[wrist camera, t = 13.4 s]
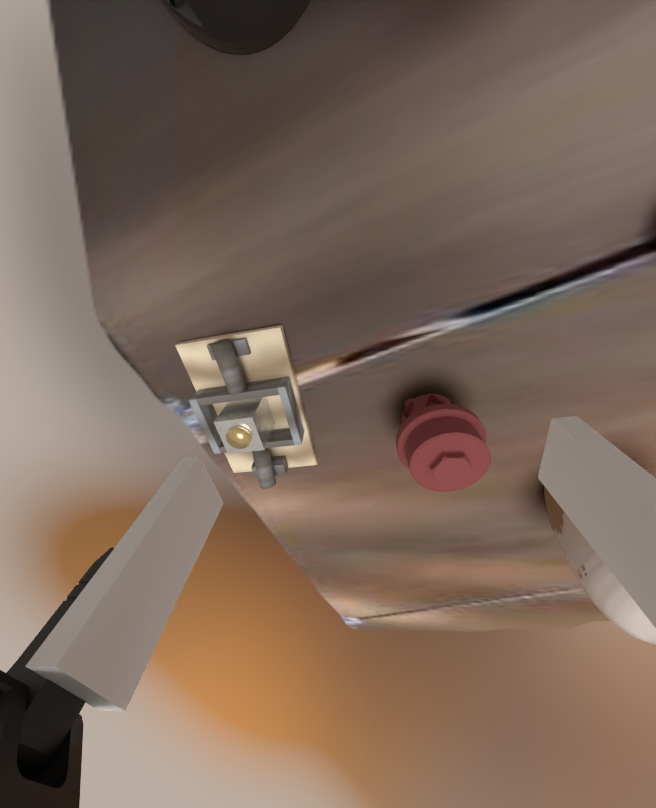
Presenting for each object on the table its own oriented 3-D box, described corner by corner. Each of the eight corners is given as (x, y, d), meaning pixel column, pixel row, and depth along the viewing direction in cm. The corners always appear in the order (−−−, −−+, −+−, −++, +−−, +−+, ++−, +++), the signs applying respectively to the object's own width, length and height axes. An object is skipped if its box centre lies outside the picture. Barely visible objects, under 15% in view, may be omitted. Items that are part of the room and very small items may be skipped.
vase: (648, 491, 45) (879, 688, 25) (543, 528, 51) (665, 712, 31) (620, 425, 40) (889, 611, 20) (506, 474, 45) (627, 657, 26)
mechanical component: (432, 448, 44) (376, 421, 42) (478, 397, 39) (416, 365, 37) (459, 516, 33) (385, 484, 31) (527, 457, 28) (443, 416, 26)
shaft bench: (179, 342, 38) (152, 359, 32) (282, 324, 36) (270, 339, 30) (236, 467, 48) (222, 495, 43) (317, 459, 46) (313, 487, 41)
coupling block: (231, 398, 40) (211, 425, 34) (265, 393, 39) (250, 420, 34) (242, 427, 42) (226, 457, 37) (274, 423, 42) (263, 453, 36)
